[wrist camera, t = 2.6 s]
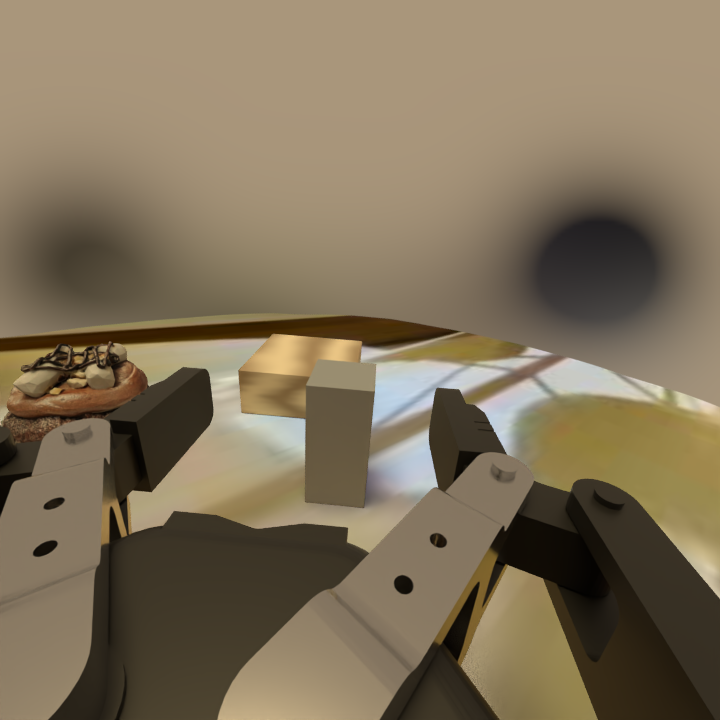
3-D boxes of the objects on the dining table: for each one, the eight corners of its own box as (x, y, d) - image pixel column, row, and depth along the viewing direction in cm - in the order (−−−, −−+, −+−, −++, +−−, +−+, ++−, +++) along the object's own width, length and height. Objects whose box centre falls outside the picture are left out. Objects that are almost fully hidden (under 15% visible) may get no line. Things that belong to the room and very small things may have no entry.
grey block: (305, 502, 26) (305, 385, 22) (315, 463, 30) (318, 358, 26) (363, 507, 26) (374, 391, 22) (366, 468, 30) (376, 364, 26)
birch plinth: (241, 412, 37) (238, 370, 35) (274, 367, 48) (273, 333, 46) (352, 422, 36) (355, 380, 35) (359, 375, 48) (361, 341, 46)
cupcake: (156, 416, 35) (138, 323, 31) (168, 473, 28) (146, 360, 24) (32, 443, 30) (-8, 335, 26) (6, 521, 23) (-54, 388, 19)
